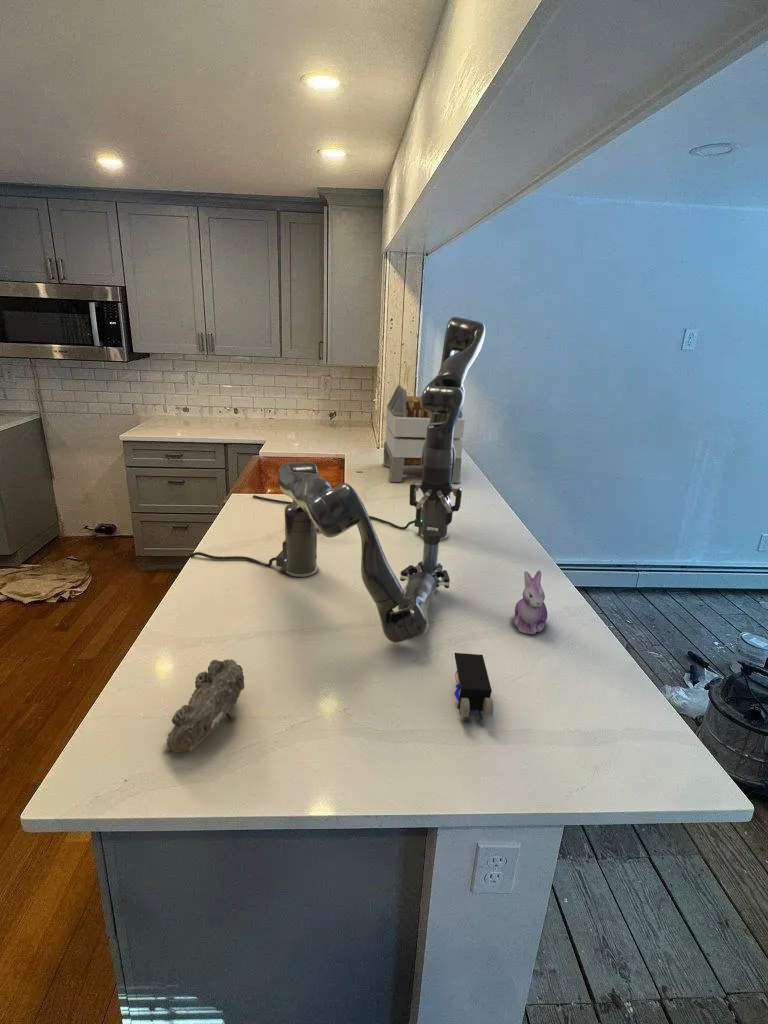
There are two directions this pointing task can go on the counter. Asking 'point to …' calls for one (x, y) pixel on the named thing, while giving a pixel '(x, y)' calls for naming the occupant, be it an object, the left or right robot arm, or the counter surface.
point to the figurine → (531, 606)
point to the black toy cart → (472, 685)
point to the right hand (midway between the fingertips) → (433, 522)
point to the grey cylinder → (430, 557)
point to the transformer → (412, 435)
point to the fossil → (206, 705)
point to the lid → (431, 537)
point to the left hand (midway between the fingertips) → (430, 565)
